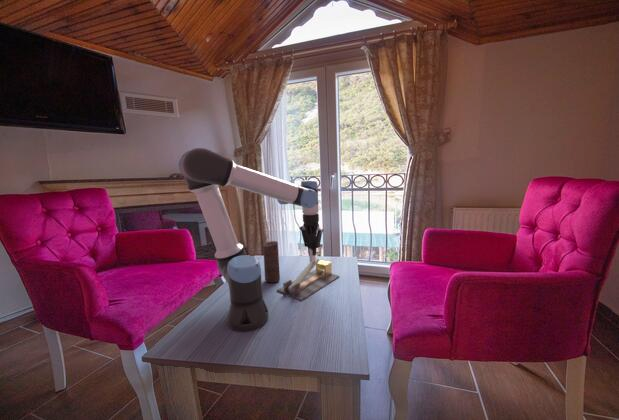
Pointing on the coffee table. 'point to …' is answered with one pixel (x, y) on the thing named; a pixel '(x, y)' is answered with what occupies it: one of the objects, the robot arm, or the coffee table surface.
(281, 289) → the tongs base
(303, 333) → the coffee table surface
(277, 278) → the brown wooden block
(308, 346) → the coffee table surface
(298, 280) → the bar
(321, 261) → the collar
